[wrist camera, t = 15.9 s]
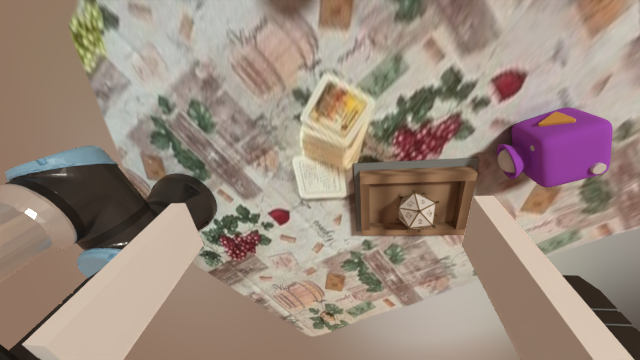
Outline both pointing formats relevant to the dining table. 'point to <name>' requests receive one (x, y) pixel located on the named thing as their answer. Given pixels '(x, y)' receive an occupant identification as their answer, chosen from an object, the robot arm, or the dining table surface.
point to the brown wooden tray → (437, 184)
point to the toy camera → (558, 147)
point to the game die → (417, 211)
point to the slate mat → (402, 165)
